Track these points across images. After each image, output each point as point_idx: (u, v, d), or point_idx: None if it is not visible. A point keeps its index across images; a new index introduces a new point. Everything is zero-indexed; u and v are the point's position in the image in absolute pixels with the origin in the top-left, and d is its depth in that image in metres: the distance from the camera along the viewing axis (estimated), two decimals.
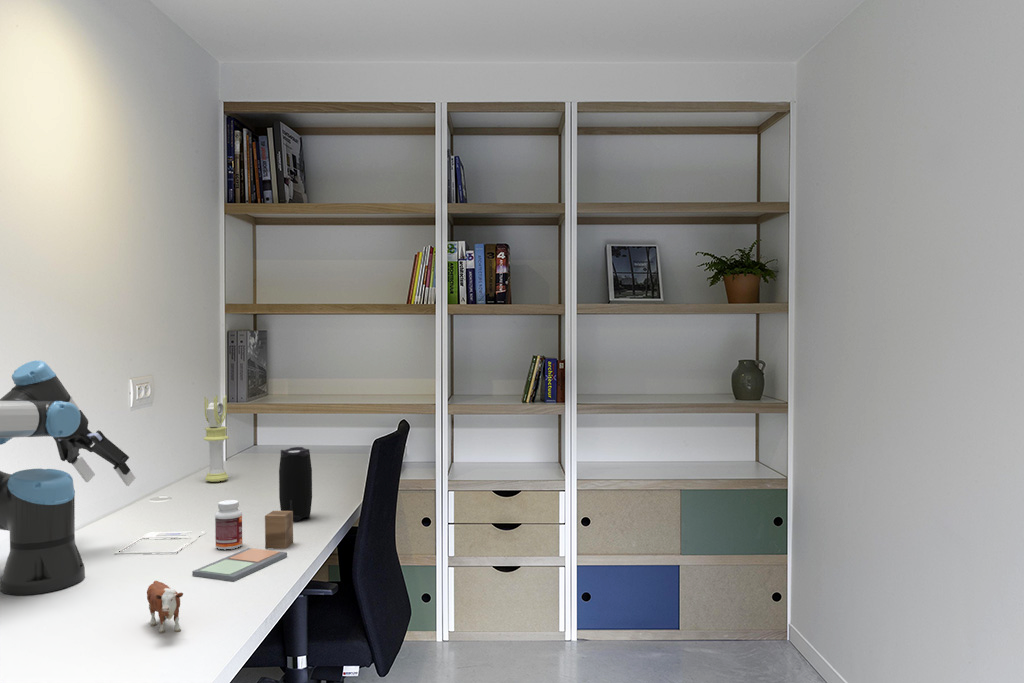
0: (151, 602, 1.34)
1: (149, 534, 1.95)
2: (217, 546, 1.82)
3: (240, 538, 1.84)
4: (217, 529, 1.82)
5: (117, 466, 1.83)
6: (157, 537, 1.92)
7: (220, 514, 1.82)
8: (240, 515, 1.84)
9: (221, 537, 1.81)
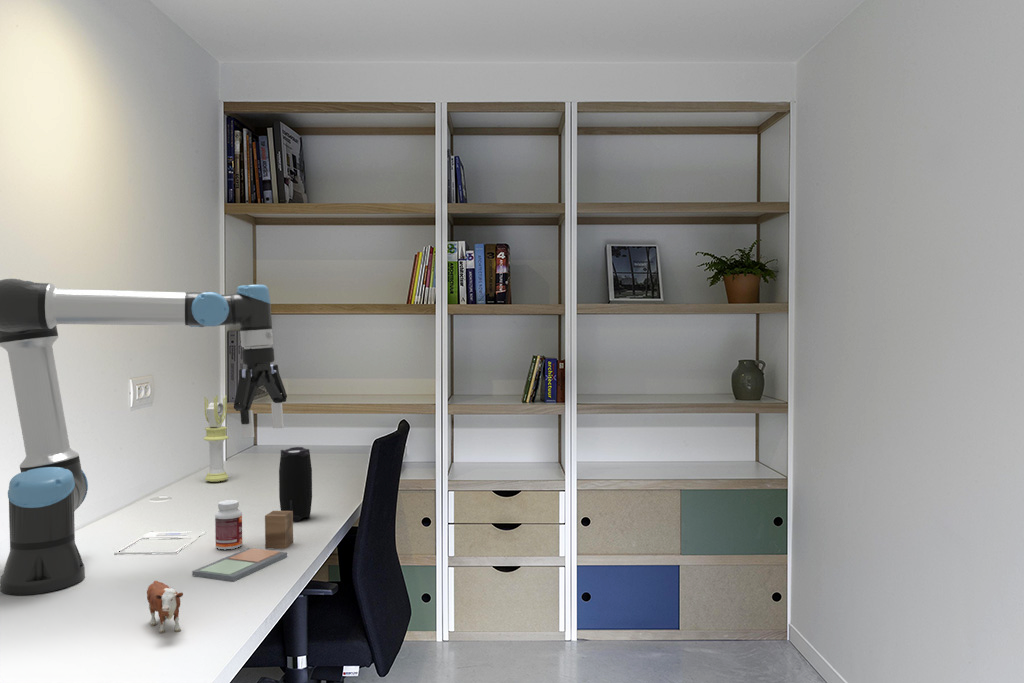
0: (151, 602, 1.34)
1: (149, 534, 1.94)
2: (217, 546, 1.82)
3: (240, 538, 1.84)
4: (217, 529, 1.82)
5: (237, 409, 1.79)
6: (157, 537, 1.92)
7: (220, 514, 1.82)
8: (240, 515, 1.84)
9: (221, 537, 1.81)
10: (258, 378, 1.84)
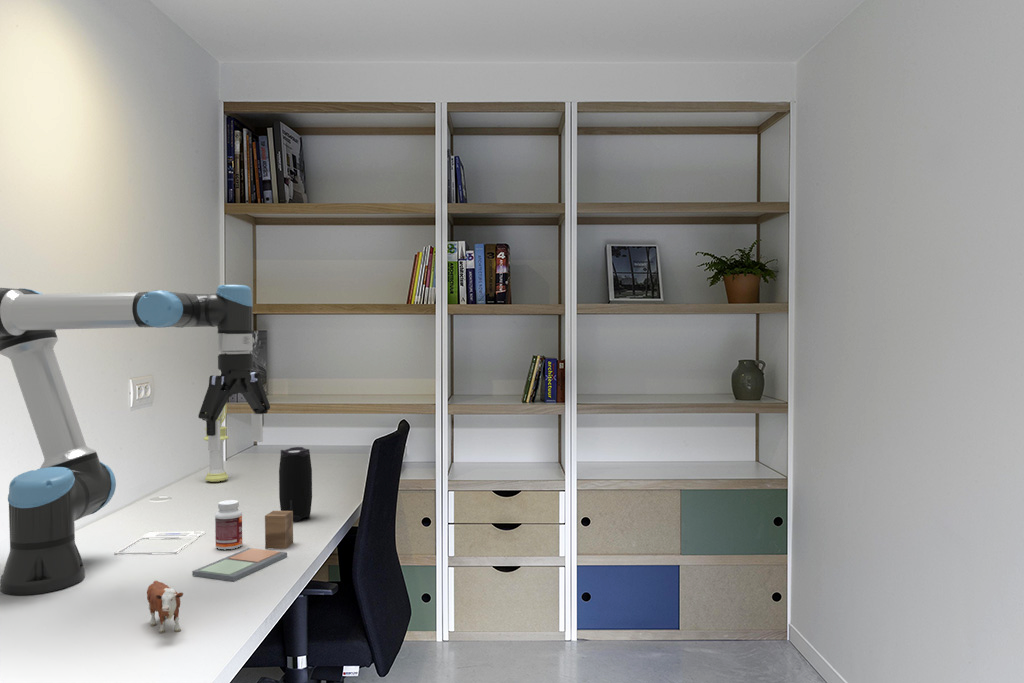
0: (151, 602, 1.34)
1: (149, 534, 1.94)
2: (217, 546, 1.82)
3: (240, 538, 1.84)
4: (217, 529, 1.82)
5: (203, 418, 1.65)
6: (157, 537, 1.92)
7: (220, 514, 1.82)
8: (240, 515, 1.84)
9: (221, 537, 1.81)
10: (231, 386, 1.69)
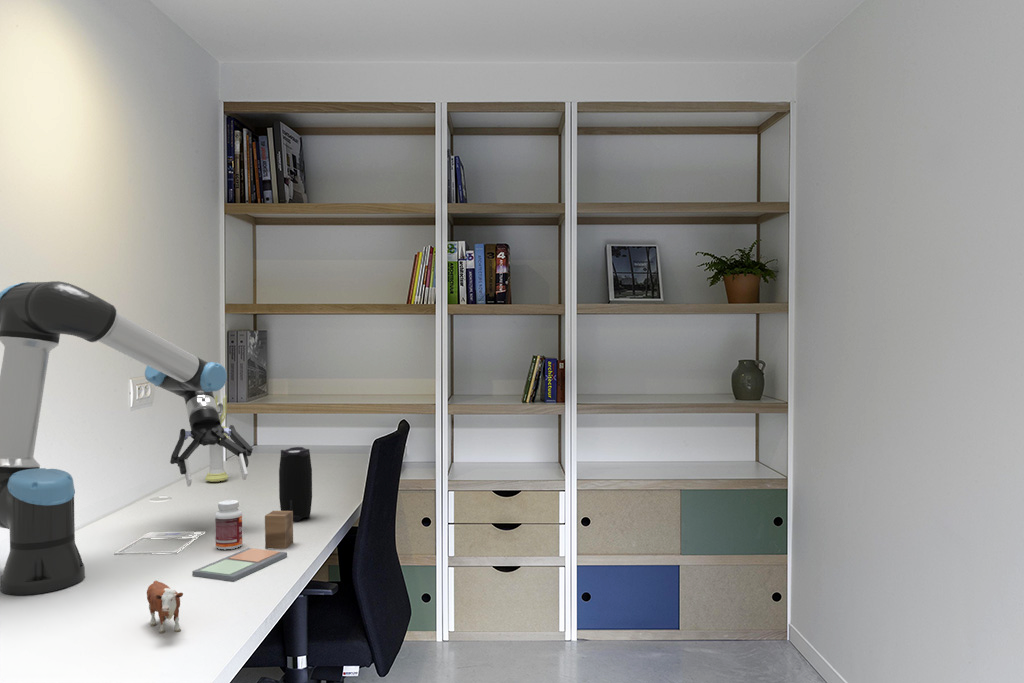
0: (151, 602, 1.34)
1: (149, 534, 1.94)
2: (217, 546, 1.82)
3: (240, 538, 1.84)
4: (217, 529, 1.82)
5: (178, 464, 1.93)
6: (157, 537, 1.92)
7: (220, 514, 1.82)
8: (240, 515, 1.84)
9: (221, 537, 1.81)
10: (197, 435, 1.98)
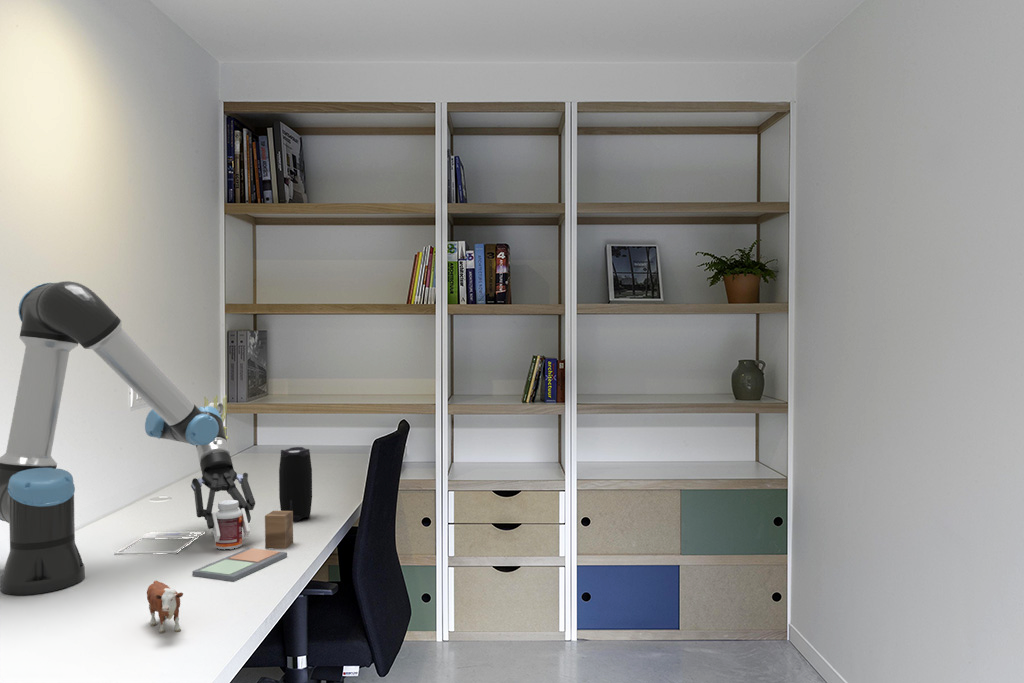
0: (151, 602, 1.34)
1: (148, 534, 1.94)
2: (217, 546, 1.82)
3: (240, 538, 1.84)
4: None
5: (205, 518, 1.83)
6: (157, 537, 1.91)
7: (220, 514, 1.82)
8: (240, 515, 1.84)
9: (221, 537, 1.81)
10: (211, 482, 1.88)
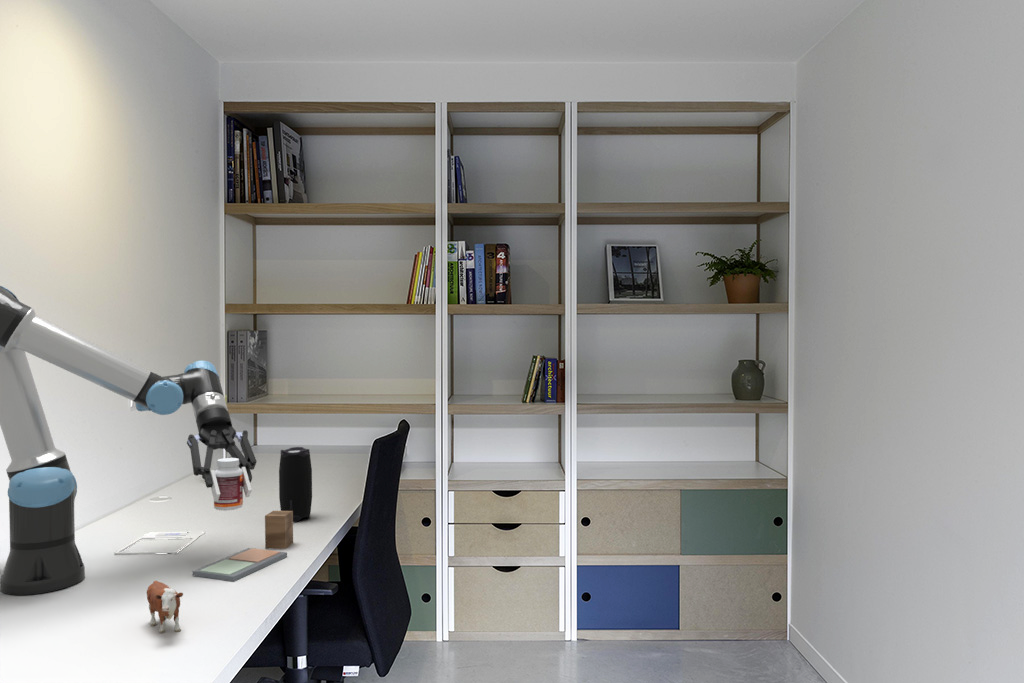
0: (151, 602, 1.34)
1: (148, 534, 1.94)
2: (216, 506, 1.69)
3: (241, 498, 1.71)
4: None
5: (203, 477, 1.70)
6: (156, 537, 1.91)
7: (220, 472, 1.68)
8: (241, 473, 1.71)
9: (220, 497, 1.68)
10: (209, 439, 1.74)
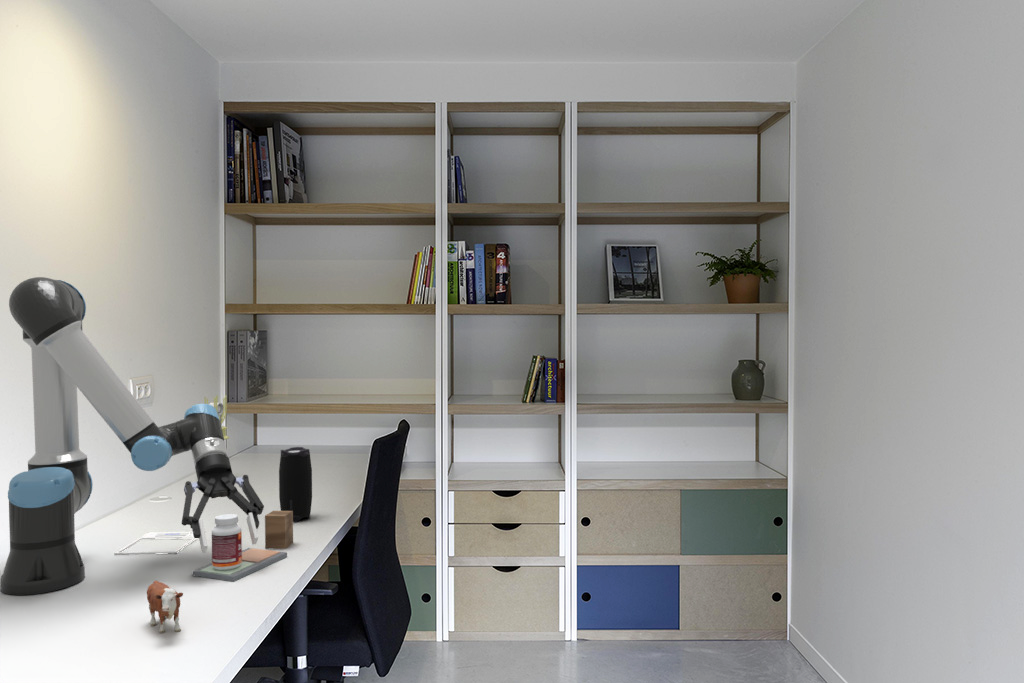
0: (151, 602, 1.34)
1: (148, 534, 1.94)
2: (214, 566, 1.63)
3: (239, 557, 1.65)
4: (214, 547, 1.63)
5: (191, 526, 1.64)
6: (156, 537, 1.91)
7: (217, 530, 1.63)
8: (239, 531, 1.65)
9: (218, 556, 1.62)
10: (206, 487, 1.69)
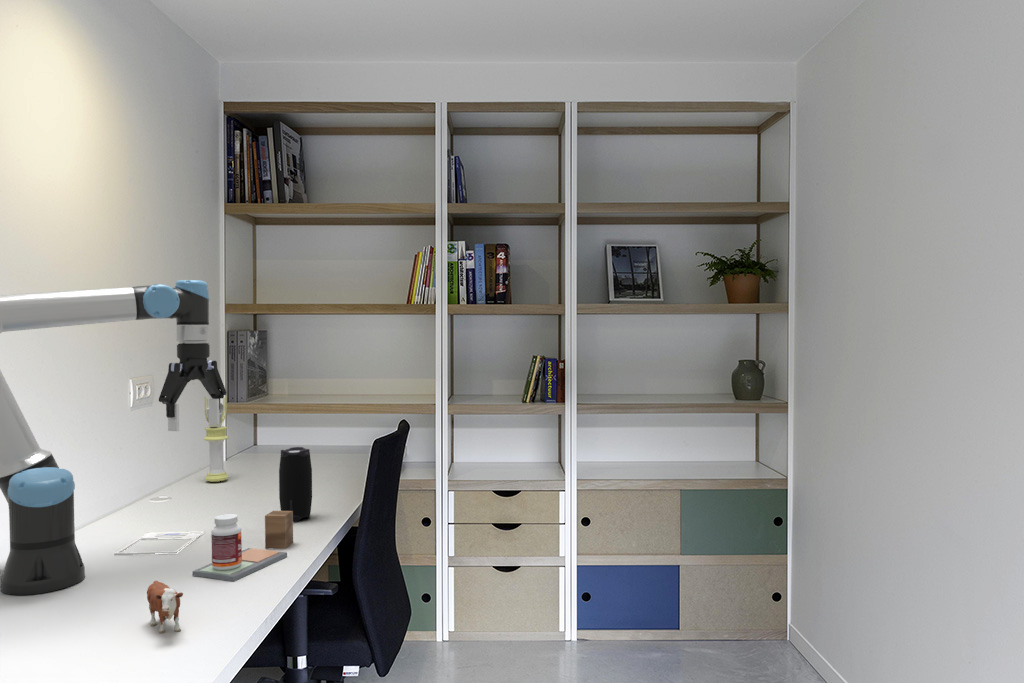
0: (151, 602, 1.34)
1: (148, 534, 1.94)
2: (214, 566, 1.63)
3: (239, 557, 1.65)
4: (213, 547, 1.63)
5: None
6: (156, 537, 1.91)
7: (217, 530, 1.63)
8: (239, 531, 1.65)
9: (218, 556, 1.62)
10: (189, 373, 1.85)
